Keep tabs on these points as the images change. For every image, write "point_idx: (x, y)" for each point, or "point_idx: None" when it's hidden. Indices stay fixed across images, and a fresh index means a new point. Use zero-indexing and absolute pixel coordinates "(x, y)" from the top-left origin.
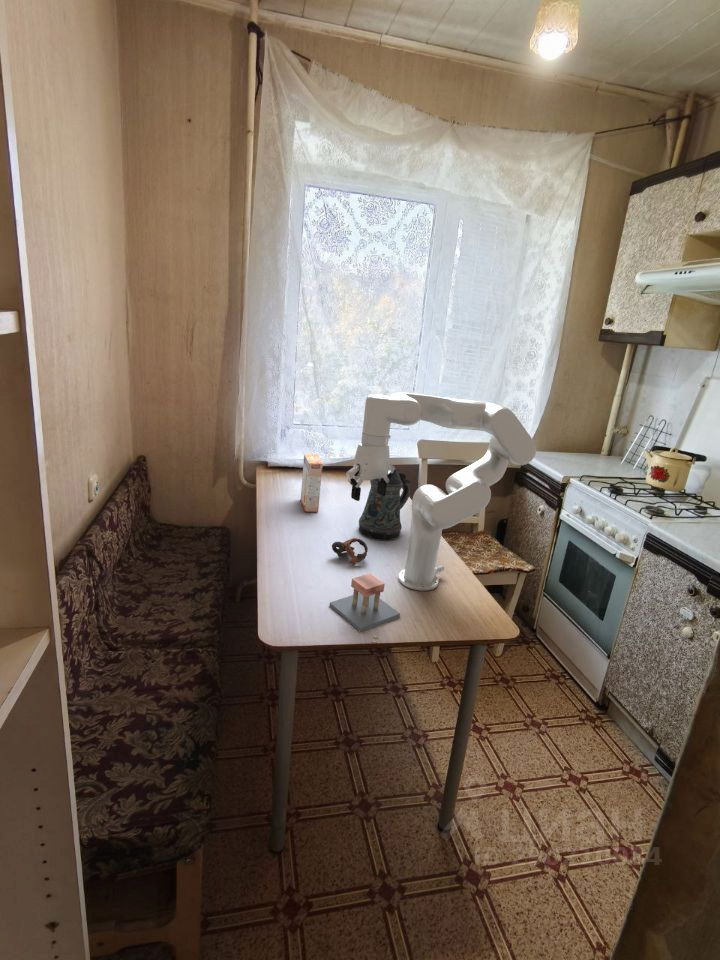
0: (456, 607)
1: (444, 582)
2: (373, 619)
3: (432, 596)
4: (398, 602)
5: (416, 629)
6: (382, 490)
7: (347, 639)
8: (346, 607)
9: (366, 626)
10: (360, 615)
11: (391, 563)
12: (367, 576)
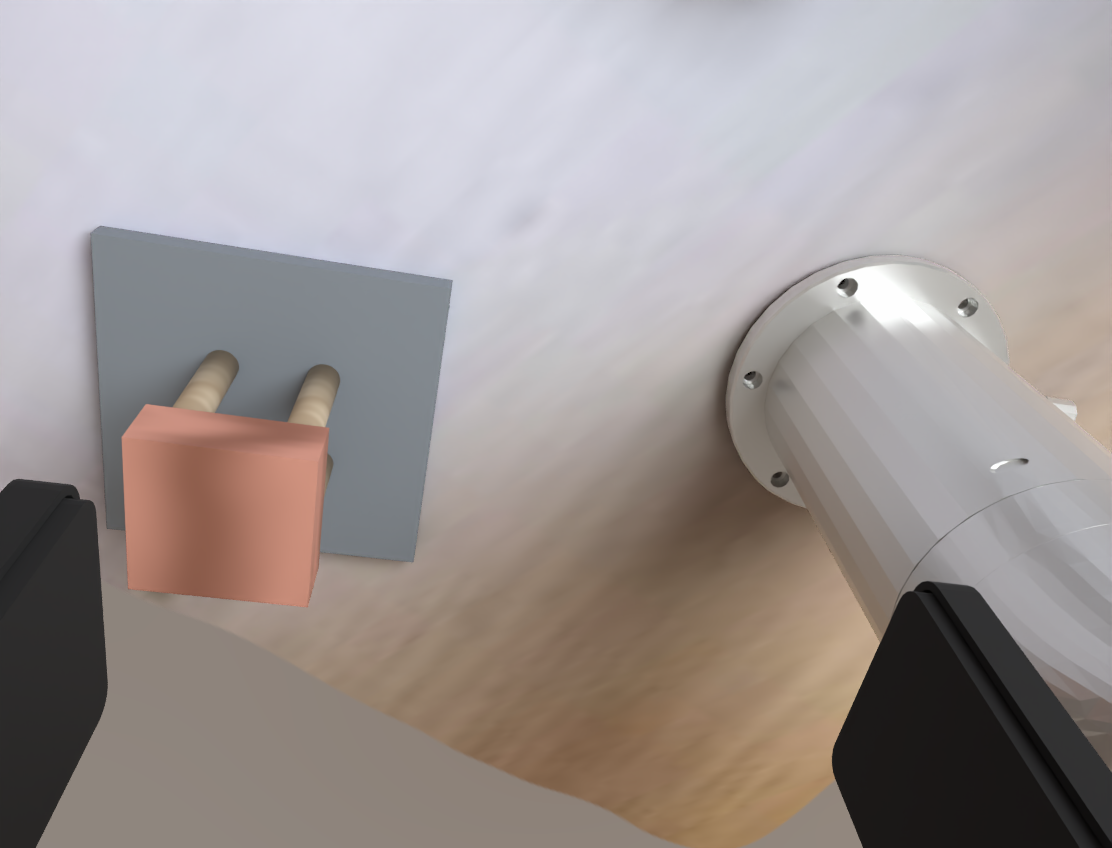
0: (743, 658)
1: None
2: None
3: (750, 536)
4: (530, 463)
5: (399, 653)
6: (891, 833)
7: None
8: (162, 345)
9: None
10: None
11: (979, 90)
12: (264, 481)
